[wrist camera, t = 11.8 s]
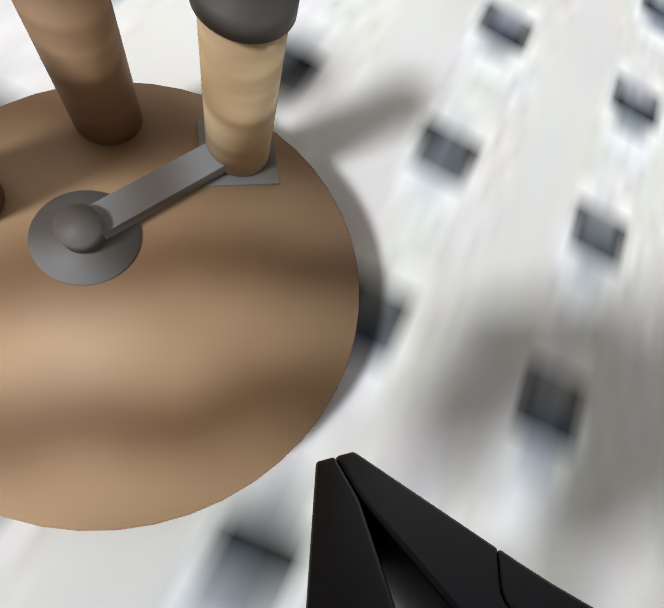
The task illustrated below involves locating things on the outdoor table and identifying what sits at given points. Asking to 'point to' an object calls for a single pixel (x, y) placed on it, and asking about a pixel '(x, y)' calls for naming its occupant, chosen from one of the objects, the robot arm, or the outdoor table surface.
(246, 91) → the hinged leg
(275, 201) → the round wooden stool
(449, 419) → the outdoor table surface
